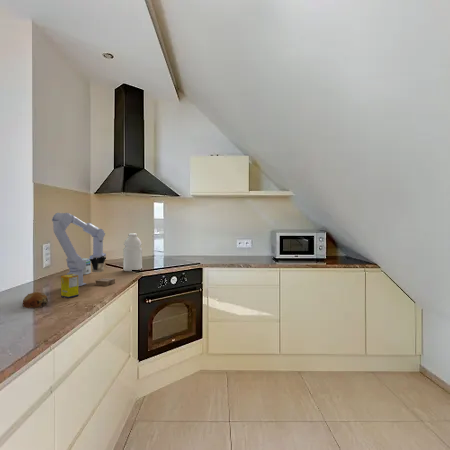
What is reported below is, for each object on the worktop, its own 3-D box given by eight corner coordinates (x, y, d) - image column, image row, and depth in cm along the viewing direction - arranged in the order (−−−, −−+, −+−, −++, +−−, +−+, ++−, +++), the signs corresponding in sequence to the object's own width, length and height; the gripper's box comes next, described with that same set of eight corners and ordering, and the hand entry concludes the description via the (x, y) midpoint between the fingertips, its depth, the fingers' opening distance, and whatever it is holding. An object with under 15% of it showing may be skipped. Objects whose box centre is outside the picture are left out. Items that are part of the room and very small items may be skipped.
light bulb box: (91, 273, 234) (91, 258, 234) (86, 274, 228) (86, 259, 227) (77, 272, 235) (77, 257, 235) (71, 274, 229) (71, 259, 228)
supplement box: (70, 294, 170) (70, 273, 170) (78, 296, 167) (78, 274, 167) (60, 297, 165) (60, 275, 165) (68, 298, 162) (68, 276, 162)
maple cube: (99, 272, 202) (99, 264, 202) (92, 272, 203) (92, 264, 203) (103, 271, 207) (103, 263, 207) (96, 270, 208) (96, 262, 208)
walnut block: (107, 286, 193) (107, 281, 193) (95, 285, 194) (95, 280, 194) (114, 283, 200) (114, 278, 200) (103, 282, 202) (103, 278, 202)
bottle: (125, 272, 240) (125, 234, 239) (121, 269, 252) (121, 233, 251) (144, 270, 246) (144, 233, 246) (139, 268, 259) (139, 233, 258)
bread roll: (44, 309, 155) (41, 293, 157) (53, 303, 149) (49, 287, 151) (21, 314, 148) (18, 297, 150) (29, 308, 142) (26, 290, 144)
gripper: (96, 248, 197) (96, 271, 197) (110, 246, 211) (110, 267, 211) (86, 248, 198) (86, 270, 198) (100, 246, 212) (100, 267, 213)
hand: (97, 269), depth 205 cm, fingers closed on maple cube, 5 cm apart
